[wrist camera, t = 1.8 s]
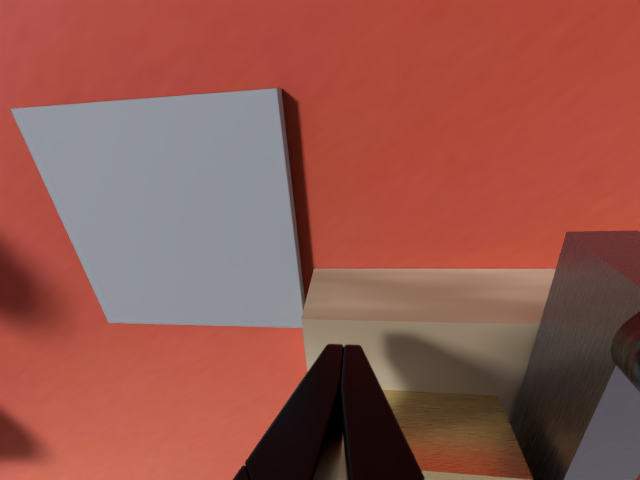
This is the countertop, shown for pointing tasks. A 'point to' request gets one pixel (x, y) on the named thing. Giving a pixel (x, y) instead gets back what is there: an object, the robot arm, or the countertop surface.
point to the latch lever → (586, 365)
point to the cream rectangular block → (431, 326)
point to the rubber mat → (177, 205)
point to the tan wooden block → (459, 435)
